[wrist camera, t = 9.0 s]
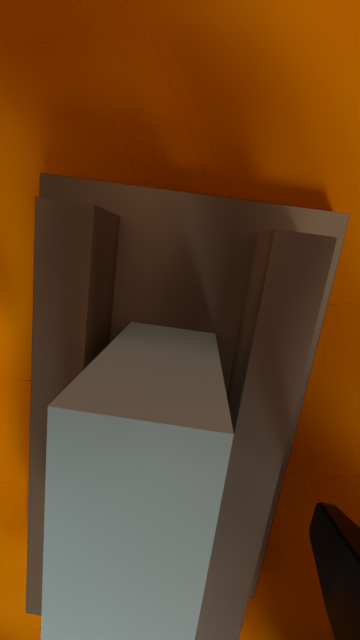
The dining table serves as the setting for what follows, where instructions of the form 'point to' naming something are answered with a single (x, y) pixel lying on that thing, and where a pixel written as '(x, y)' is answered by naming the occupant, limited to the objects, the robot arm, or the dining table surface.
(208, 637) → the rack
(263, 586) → the dining table surface
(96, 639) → the pale grey block
